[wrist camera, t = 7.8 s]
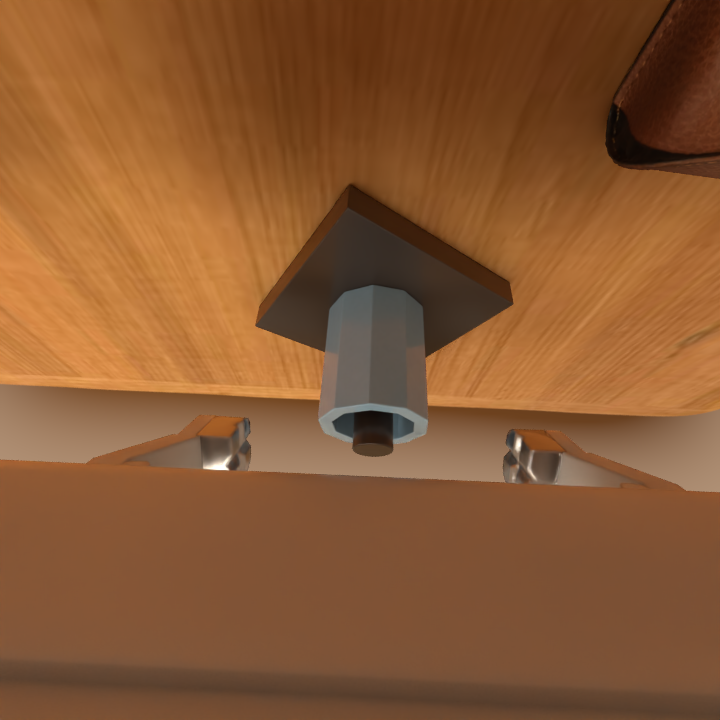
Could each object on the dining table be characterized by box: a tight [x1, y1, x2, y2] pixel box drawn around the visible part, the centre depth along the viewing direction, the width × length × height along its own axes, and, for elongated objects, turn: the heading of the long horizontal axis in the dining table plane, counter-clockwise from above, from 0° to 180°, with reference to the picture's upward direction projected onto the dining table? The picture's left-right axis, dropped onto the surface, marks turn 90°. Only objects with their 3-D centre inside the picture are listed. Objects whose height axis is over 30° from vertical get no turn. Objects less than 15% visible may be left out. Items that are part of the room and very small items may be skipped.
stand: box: [255, 185, 514, 457], centre depth 22 cm, size 11×11×10 cm
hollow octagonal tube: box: [318, 285, 428, 444], centre depth 22 cm, size 5×6×7 cm
